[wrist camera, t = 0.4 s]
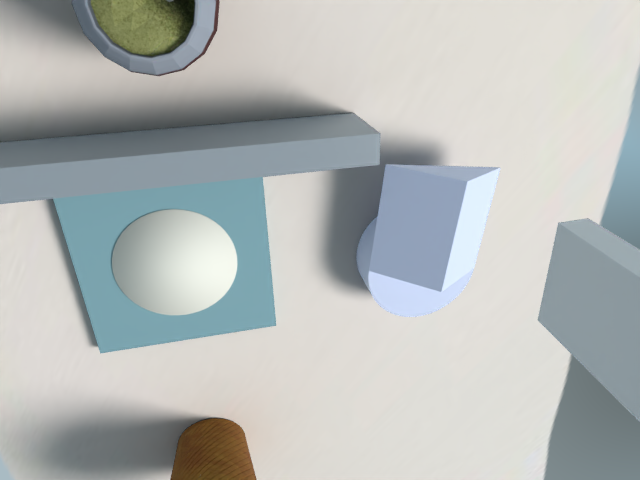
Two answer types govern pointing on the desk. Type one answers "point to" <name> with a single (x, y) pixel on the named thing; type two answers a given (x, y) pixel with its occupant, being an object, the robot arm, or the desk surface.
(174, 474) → the disposable coffee cup
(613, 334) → the robot arm
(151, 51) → the mate gourd
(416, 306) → the wedge on round base
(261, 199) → the mat
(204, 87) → the desk surface
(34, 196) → the low wall
